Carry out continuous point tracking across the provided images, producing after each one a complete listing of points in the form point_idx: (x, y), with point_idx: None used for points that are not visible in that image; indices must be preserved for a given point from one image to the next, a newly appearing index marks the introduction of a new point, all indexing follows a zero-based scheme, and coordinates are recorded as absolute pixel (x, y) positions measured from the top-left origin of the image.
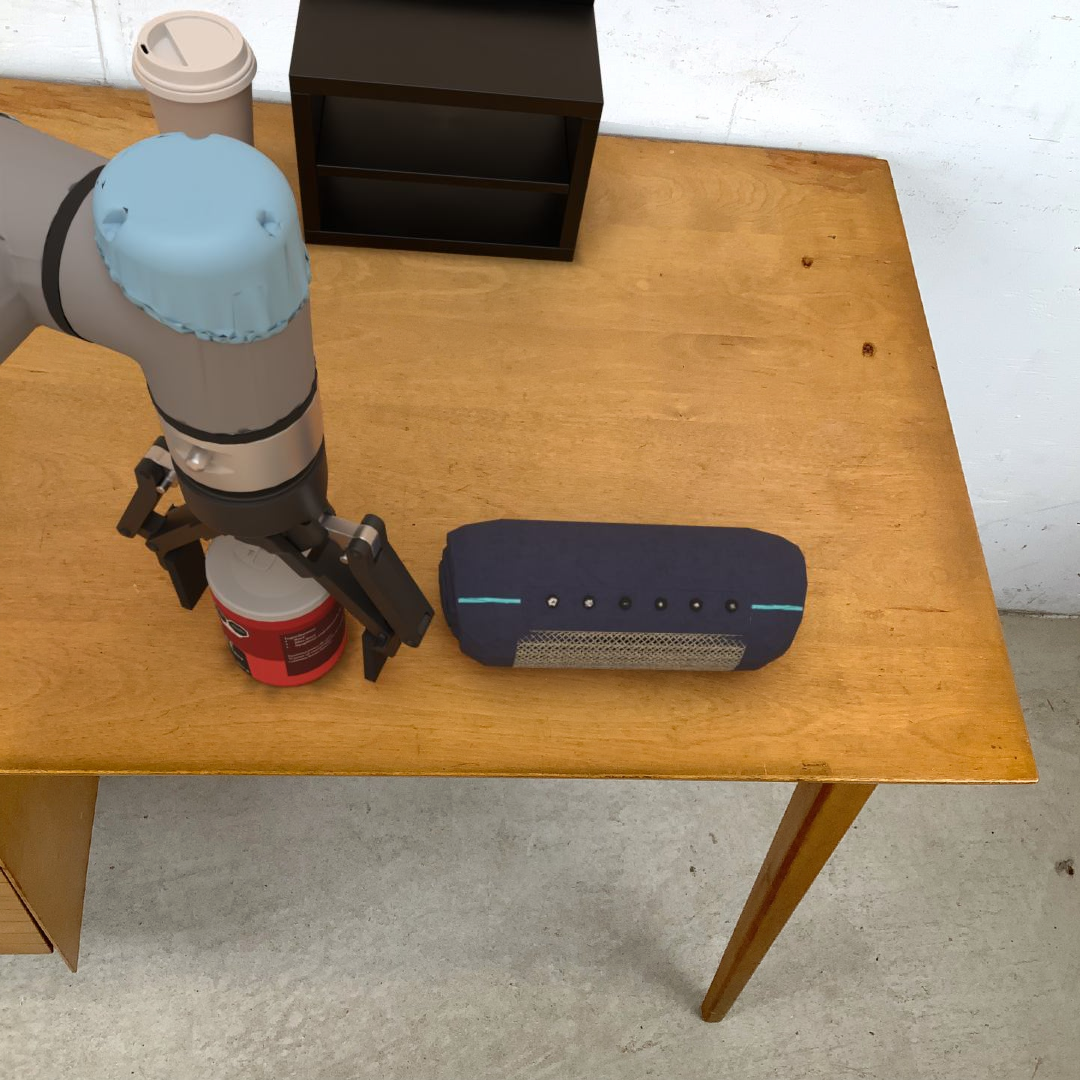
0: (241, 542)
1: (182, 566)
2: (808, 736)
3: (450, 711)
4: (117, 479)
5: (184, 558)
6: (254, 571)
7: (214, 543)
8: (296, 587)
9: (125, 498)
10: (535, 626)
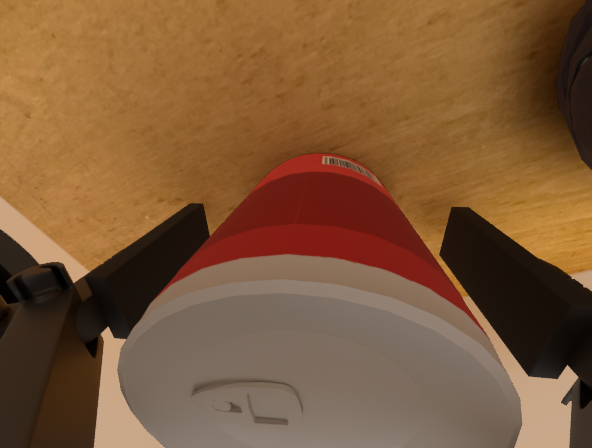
0: (193, 381)
1: (153, 299)
2: None
3: (541, 227)
4: (17, 101)
5: (143, 301)
6: (273, 431)
7: (142, 417)
8: (393, 446)
9: (48, 123)
10: None
